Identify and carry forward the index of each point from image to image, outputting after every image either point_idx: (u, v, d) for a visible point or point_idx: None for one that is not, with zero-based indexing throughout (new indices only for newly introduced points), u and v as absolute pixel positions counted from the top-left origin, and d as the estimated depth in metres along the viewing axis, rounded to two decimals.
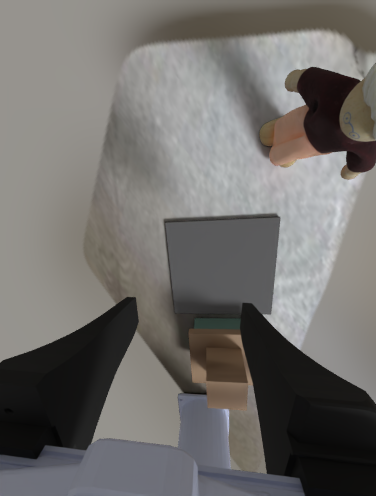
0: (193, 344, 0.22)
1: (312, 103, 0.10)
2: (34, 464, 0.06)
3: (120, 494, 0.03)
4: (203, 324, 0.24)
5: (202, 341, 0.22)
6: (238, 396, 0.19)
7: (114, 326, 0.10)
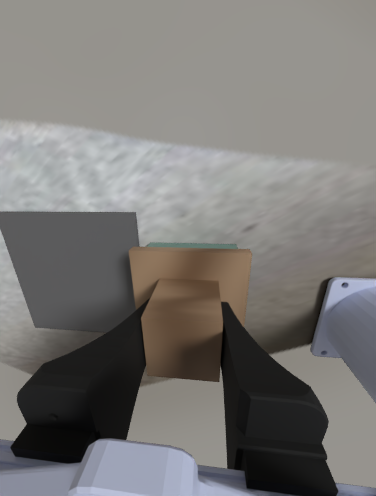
0: None
1: None
2: None
3: (120, 494, 0.03)
4: None
5: None
6: (181, 333, 0.09)
7: None
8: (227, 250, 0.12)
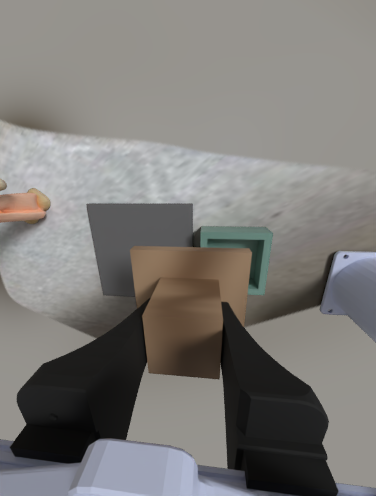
0: None
1: None
2: None
3: (120, 494, 0.03)
4: None
5: None
6: (182, 331, 0.10)
7: (141, 328, 0.10)
8: (227, 249, 0.13)
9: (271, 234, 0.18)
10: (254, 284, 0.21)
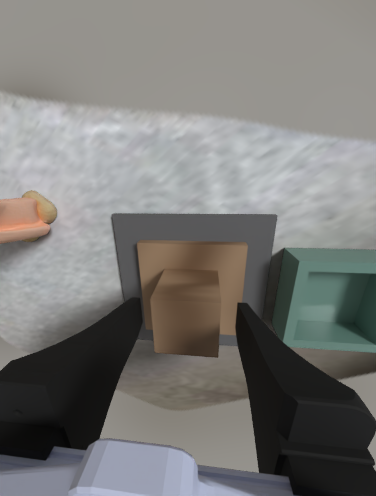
0: None
1: None
2: (43, 465, 0.06)
3: (120, 494, 0.03)
4: (278, 321, 0.15)
5: None
6: (185, 313, 0.11)
7: (119, 326, 0.10)
8: (225, 243, 0.14)
9: None
10: (362, 334, 0.14)
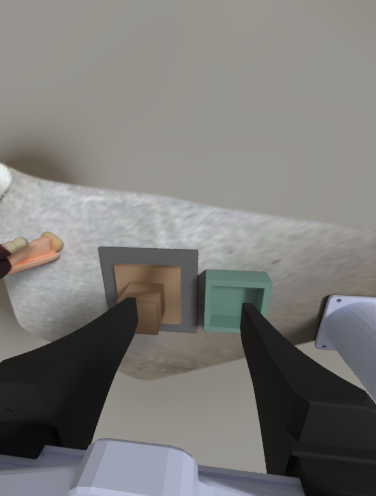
0: None
1: None
2: (34, 464, 0.06)
3: (120, 494, 0.03)
4: None
5: None
6: None
7: (114, 326, 0.10)
8: (168, 266, 0.22)
9: (271, 284, 0.20)
10: None
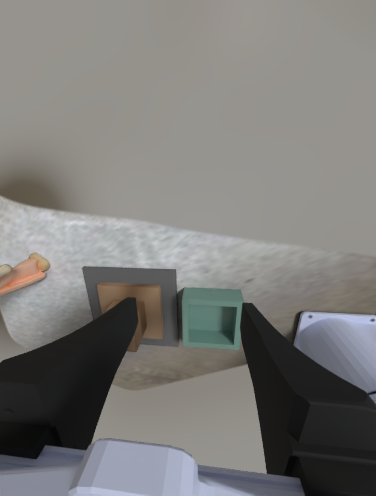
0: None
1: None
2: (34, 464, 0.06)
3: (120, 494, 0.03)
4: None
5: None
6: None
7: (114, 326, 0.10)
8: (148, 285, 0.24)
9: None
10: (231, 338, 0.24)
